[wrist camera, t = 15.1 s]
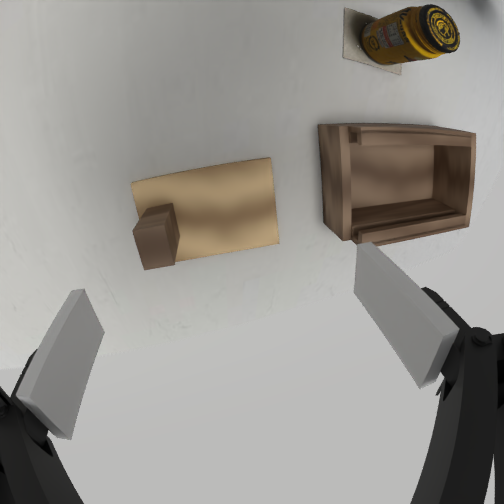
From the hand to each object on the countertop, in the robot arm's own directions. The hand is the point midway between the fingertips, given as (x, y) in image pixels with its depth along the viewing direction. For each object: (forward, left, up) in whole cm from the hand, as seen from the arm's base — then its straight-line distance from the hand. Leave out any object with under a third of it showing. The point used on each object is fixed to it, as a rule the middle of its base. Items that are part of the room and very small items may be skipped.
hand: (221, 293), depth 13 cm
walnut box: (0, +22, -21) cm, 30 cm away
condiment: (-17, +22, -21) cm, 34 cm away
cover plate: (+3, -1, -21) cm, 21 cm away
